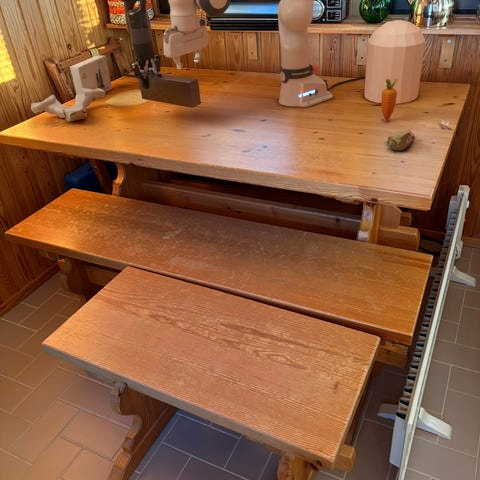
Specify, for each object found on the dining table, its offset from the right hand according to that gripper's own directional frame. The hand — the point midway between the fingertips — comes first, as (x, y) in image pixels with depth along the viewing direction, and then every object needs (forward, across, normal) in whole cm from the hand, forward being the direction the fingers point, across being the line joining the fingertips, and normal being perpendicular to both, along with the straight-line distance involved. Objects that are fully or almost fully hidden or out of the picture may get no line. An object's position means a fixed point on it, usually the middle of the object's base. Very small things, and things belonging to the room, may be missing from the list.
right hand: (188, 65), depth 166 cm
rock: (+20, +13, -76) cm, 80 cm away
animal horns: (+24, -16, +53) cm, 60 cm away
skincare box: (+24, +11, +72) cm, 76 cm away
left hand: (+10, -1, +20) cm, 22 cm away
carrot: (+20, +31, -64) cm, 74 cm away
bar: (+14, -1, +10) cm, 18 cm away
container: (+20, +58, -55) cm, 83 cm away
